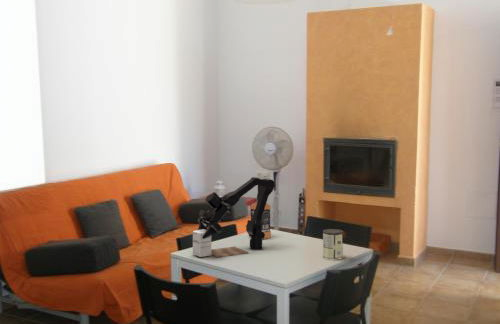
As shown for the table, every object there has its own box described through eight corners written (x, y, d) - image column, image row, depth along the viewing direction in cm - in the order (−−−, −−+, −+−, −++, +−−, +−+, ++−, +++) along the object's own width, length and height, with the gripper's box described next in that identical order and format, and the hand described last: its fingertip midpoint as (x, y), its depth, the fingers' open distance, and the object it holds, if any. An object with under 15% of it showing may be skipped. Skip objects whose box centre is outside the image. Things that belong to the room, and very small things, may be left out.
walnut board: (234, 247, 302) (234, 246, 301) (248, 253, 289) (248, 252, 289) (204, 251, 292) (204, 250, 292) (216, 257, 279) (216, 256, 279)
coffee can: (327, 254, 288) (327, 228, 287) (345, 256, 283) (346, 230, 282) (319, 258, 279) (319, 231, 278) (338, 261, 274) (338, 233, 273)
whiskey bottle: (261, 235, 334) (261, 183, 332) (272, 237, 326) (272, 185, 324) (248, 237, 327) (248, 184, 325) (259, 240, 320) (259, 186, 317)
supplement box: (192, 254, 283) (192, 230, 282) (204, 252, 288) (204, 228, 287) (199, 257, 278) (199, 233, 276) (211, 255, 282) (211, 231, 281)
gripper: (200, 201, 290) (182, 224, 286) (216, 206, 274) (197, 230, 270) (213, 214, 295) (195, 237, 290) (230, 220, 279) (211, 244, 274)
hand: (199, 236), depth 281 cm, fingers closed on supplement box, 7 cm apart
